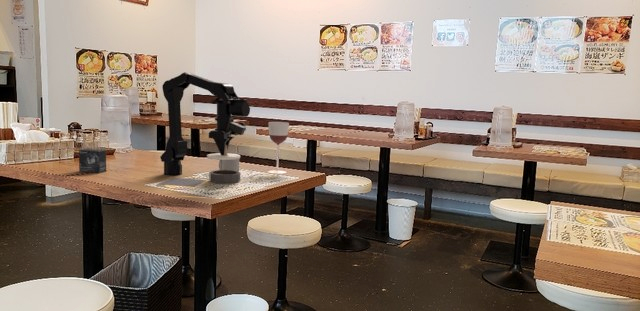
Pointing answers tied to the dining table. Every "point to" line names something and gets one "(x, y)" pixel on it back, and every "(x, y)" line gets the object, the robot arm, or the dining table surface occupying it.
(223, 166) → the cup
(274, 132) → the wineglass
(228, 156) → the lid
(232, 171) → the bowl
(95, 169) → the box
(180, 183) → the mat
